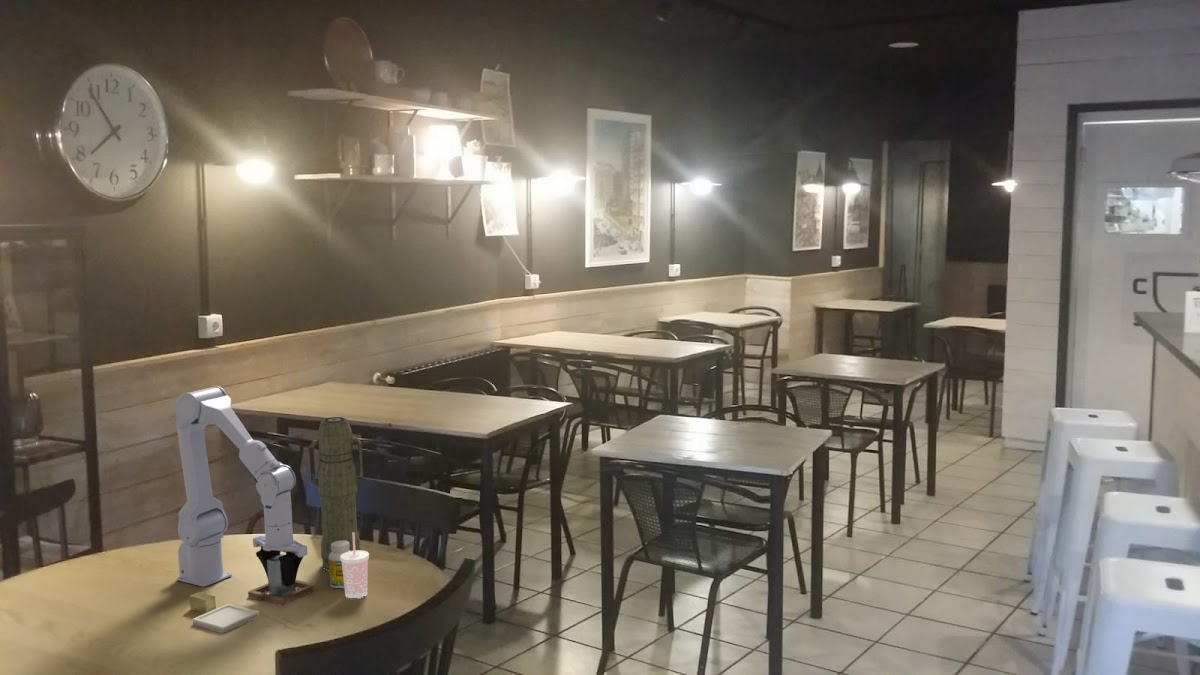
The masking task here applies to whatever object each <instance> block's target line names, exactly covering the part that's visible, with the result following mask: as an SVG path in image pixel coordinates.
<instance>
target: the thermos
mask: <svg viewBox="0 0 1200 675" xmlns="http://www.w3.org/2000/svg"><path fill="white" fill-rule="evenodd" d="M355 443H357V445H358V446H357V447H358V449H357V450H358V451H357V452H358V468H359V469H358V470H359V475H358V474H357V468H356V465H355V463H354V456H353V451H354V449H353V444H355ZM315 445H317V446H318V454H319V462H318V463H319V465H318V468H317V475H316V464H315V451H314V450H315ZM362 447H363V443H362V441H361V440H360V439H359V437H356V436H353V430H352V428H351V425H350V422H349V421H348V418H344V416H343V417H342V416H341V417H340V416H332V417H328V418H324V419H323V420H321V421H320V423H319V428H318V433H317V438H316V439H314V440H313V441H312V442H311V443H310V444H309V446H308V455H309V464H310V465H309V467H310V479H311V480H310V481H311V483H312V484H313V485H315V486H317V489H318V496H319V498H320V507H321V508H320V509H321V528H322V530H321V531H322V537H321V542H320V552H321V554H320V555H321V559H322V569H323V568H325V569H327V570H329V554H330V553H331V552H332V550H331V543H333V542H336V541H348V542H349V545H350V548H349V550H350V551H353V535H352V533H353V532H355V550H361V540H360V536H358V522H357V519H358V517H357V499H356V495H357V493H358V484H359V483H360V482H363V481H364V465H363V464H364V463H363V462H364V460H363V448H362ZM316 476H317V478H316ZM327 570H326V571H327Z"/></svg>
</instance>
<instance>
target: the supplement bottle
mask: <svg viewBox="0 0 1200 675" xmlns="http://www.w3.org/2000/svg"><path fill="white" fill-rule="evenodd" d="M349 548H350V545H349V542H348V541H336V542H333V543H331V550H332V552H331V553H330V554H329V571H328V572H329V583H330V584H329V585H330V587H331V586H332V588H333V587H334V589H337V588H341V589H345V586H344V578H343V569H342V562H341V561H340V556H341V554H343V553H345V552H348V551H350V550H349Z"/></svg>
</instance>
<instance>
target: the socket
mask: <svg viewBox="0 0 1200 675" xmlns="http://www.w3.org/2000/svg"><path fill="white" fill-rule="evenodd" d="M295 583H296V588H297V587H298V589H296V591H295V592H293V593H291V594H288V595H286V596H284V597H282V598H281V597H277V596H273V595H269V593H266V592H269V587H268V582H267V583H265V584H263V585H260V586H259V587H256V588H253V589H251V590H249V591H247V594H248V596H247V597H248V598H251V599H255V600H258V601H263V602H266V603H270V604H275V605H276V606H277V605H279V606H283V605H286V604H288V603H290V602H292V601H294V600H297V599H298V598H302V597H303V596H306V595H307V594H309V593H312V592H314V591H316V590H317V584H315V583H311V582H308V581H307V582H306V581H303V580H299V579H296V581H295Z"/></svg>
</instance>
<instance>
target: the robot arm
mask: <svg viewBox="0 0 1200 675" xmlns="http://www.w3.org/2000/svg"><path fill="white" fill-rule="evenodd" d="M232 403H233V402H232V398H231V397H230V396H229V395H228V393H227V391H226V390H225V389H224V388H223V387H221V386H219V385H213V386H211V387H207V388H203V389H200V390H199V389H198V390H194V391H190V392H189V391H188V392H183V393H181V394H180V395H179V396H178V398H177V399H176V400H175V401H174V403H173V406H174V410H175V416H176V417H175V418H176V421H175V422H176V423H175V425H176V433H177V434H176V435H177V439H178V447H179V453H180V460H181V467H182V474H183V481H184V488H185V495H186V501H185V502H186V503H184V505H183V506H182V507H181V509H180V510H179V512H178V523H177V524H178V525H177V534H178V537H179V538H180V541H181V543H180V544H179V546H178V547H179V548H178V550H177V551H178V552H177V556H178V559H177V560H178V571H179V576H178V577H176V580H177V581H180V582H183V583H187V584H191V585H196V586H197V587H198V586H199V587H208V586H210V585H213V584H214V583H217V582H220V581H222V580H224V579H227V578H229V577H232V576H233V574H232V573H231V572H226V571H224V563H223V550H222V548H223V547H222V539H223V538H224V533H225V532H226V531H227V529H228V525H229V518H228V516H227V514H226V512H225V510H224V505H223V502H222V501H220V500H219V499H217V498H215V497H214V494H213V488H212V480H211V474H210V473H211V472H210V467H209V461H208V460H209V459H208V454H207V446H206V440H205V439H206V438H205V432H204V430H205V428H206V427H207V426H208V425H215V426H217V427H218V428H219V429H220V430H221V431H222V433H223V434H224V435H225V436H227V438H228V439H229V440H230V441H231V442H232V443H233V444H234V446H236V447H237V448H238V449H239V452H238V458H239V459H240V461H241V462H242V464H244V466H245V467H246V468H247V470H248V471H249V472H250V473H251V475H252V476H253V477H254V478H255V480H256V481H257V482H256V483H255V488H256V491H257V493H258V494H259V496H260V502H261V503H262V504H261V505H263V515H264V516H263V520H264V535H265V536H262V535H258V536H256V537H255V536H254V537H253V538H252V546H253V548H258V547H260V550H257V551H256V552H255V556H256V557H257V558H258V560H259V561H260V563H261V565H262V567H263V569H264V572H265V574H266V578H267V579H268V570H267V559H270V558H272V557H275V556H277V555H280V554H281V552H283V553H285V554H283V556H280V557H278V558H279V561H280V563H281V565H282V568H283V572H284V580H285V585H286V586H288V587H289V586H291V585H293V584H295V581H296V580H297V576H298V570H299V567H300V565H301V563H302V560H303V559H304V557H305V556H307V555H308V546H307V545H305V544H302V543H300V542H298V541H297V540H295V539H294V532H293V531H294V530H293V511H292V510H293V509H292V496H291V494H292V493H291V490H293V489H294V488H295V485H296V484H297V483H296V482H297V478H296V474H295V472H294V470H293V469H292V467H291V466H290V465H287V464H284V463H282V462H281V461H278V460H277V459H276V458H275V456H274V455H273V454H272V452H271V451H270V450H269V449H268V448H267V447H268V446H267V445H266V444H265V443H264V442H262V440H257V439H253V437H252V435H250V433H249V431H248V429H246V427H245V426H244V424H243V423H242V421H241V420H240V418H239V417H238V416H237V414H236V412H235V411H234V410H233V408H232Z"/></svg>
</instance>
